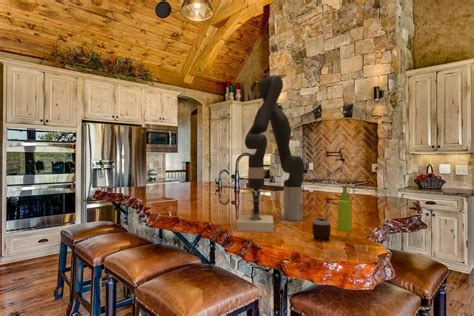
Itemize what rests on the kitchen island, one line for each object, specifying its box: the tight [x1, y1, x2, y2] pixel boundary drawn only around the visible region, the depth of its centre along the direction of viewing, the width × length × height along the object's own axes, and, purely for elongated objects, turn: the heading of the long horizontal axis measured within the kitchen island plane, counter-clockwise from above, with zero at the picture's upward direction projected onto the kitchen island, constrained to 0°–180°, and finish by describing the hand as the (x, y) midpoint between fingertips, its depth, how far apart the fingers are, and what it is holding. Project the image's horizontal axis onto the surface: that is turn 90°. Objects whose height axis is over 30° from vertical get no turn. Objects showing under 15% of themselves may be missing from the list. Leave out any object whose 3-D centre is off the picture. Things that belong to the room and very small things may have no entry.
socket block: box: [236, 214, 274, 233], centre depth 137 cm, size 16×16×4 cm
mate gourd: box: [311, 201, 333, 243], centre depth 118 cm, size 8×8×15 cm
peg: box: [251, 208, 260, 220], centre depth 137 cm, size 4×4×8 cm
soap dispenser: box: [337, 185, 355, 232], centre depth 133 cm, size 6×7×20 cm
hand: (256, 211), depth 137 cm, fingers open, 8 cm apart
